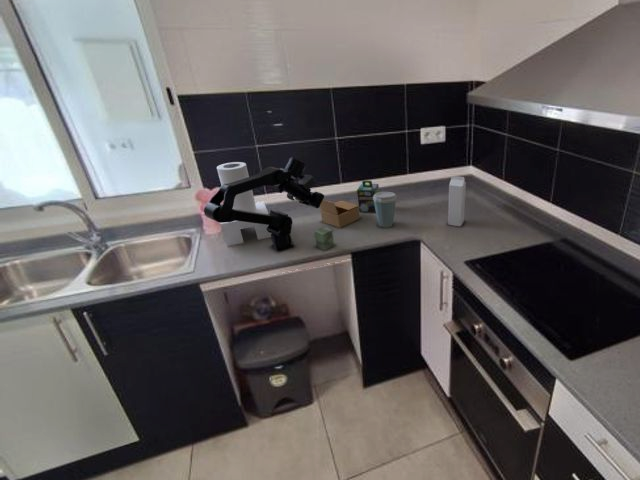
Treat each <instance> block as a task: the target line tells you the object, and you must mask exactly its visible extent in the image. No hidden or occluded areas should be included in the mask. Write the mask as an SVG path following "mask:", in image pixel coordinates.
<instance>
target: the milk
mask: <svg viewBox="0 0 640 480" xmlns="http://www.w3.org/2000/svg"><path fill="white" fill-rule="evenodd" d="M465 179H466V178H465V177H464V176H458V175H451V176H450V181H449V185H448V214H447V216H448V217H447V225H448V226H453V227H454V226H455V227H462V225H463V224H464V222H465V210H466V209H465V207H466V206H465V205H466V189H467V188H466V187H467V182H466V180H465Z"/></svg>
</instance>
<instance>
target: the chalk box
mask: <svg viewBox="0 0 640 480" xmlns="http://www.w3.org/2000/svg"><path fill="white" fill-rule="evenodd" d="M379 192H380V185H379V183H373V182H372V180H362V182H361V184H360V185H359V186H358V188H357V190H356V196H357V203H358V204H357V205H358V207H359V213H360V212H362V213H363V212H364V213H365V212H368V213H376V210H375V205H374V200H373V196H374V195H375V194H376V193H379Z"/></svg>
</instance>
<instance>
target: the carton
mask: <svg viewBox="0 0 640 480" xmlns="http://www.w3.org/2000/svg"><path fill="white" fill-rule="evenodd" d="M333 203H334V204H335V207H336V210H337V212H338V215H337V214H334V213H331V212H328V211H325V210H322V209H320V215H321V221H322V223H325V224H328V225H330V226H333V227H336V228H338V229H341V228H343V227H345V226H347V225H349V224H351V223H353V222H356V221H358V220H360V219H361V216H360V215H361V214H360V212H359V205H358V204H354V203H351V202H348V201H345V200H338V201H336V202H333Z"/></svg>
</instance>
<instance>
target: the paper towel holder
mask: <svg viewBox="0 0 640 480" xmlns="http://www.w3.org/2000/svg"><path fill="white" fill-rule="evenodd" d="M216 171H217V175H218V177H219V178H218V179H219V182H220V186H221V185H223V184H228V183H231V182H235V181H238V180H241V179H244V178H248V177H250V175H249V171H248V166H247V163H246V162H242V161H232V162H226V163H222V164H219V165H217V166H216ZM266 206H267V205H266V204H265V201H264V200H260V201H255V196H254V192H253V190H250V191H247V192H244V193H241V194H238V195H236V196H235V198H234V204H233V208H232V209H236V210H243V211H249V212H256V213H262V214H269V213H270V212H269V211H268V209H267V207H266ZM219 225H220V229H221V232H222V235H223V239H224V242H225V246H226V247H230V246H234V245H239V244H244V239H243V234H242V231H241V230H245V229H249V228H254V231H255V233H256V234H255V235H256V238H257V240H259V241H260V240H265V239H269V238H271V234H272V233H269V232H268V231H267V229H266V228H267V226H268V225H266V224H258V223H250V222H242V221H232V222H225V223H219Z"/></svg>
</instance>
